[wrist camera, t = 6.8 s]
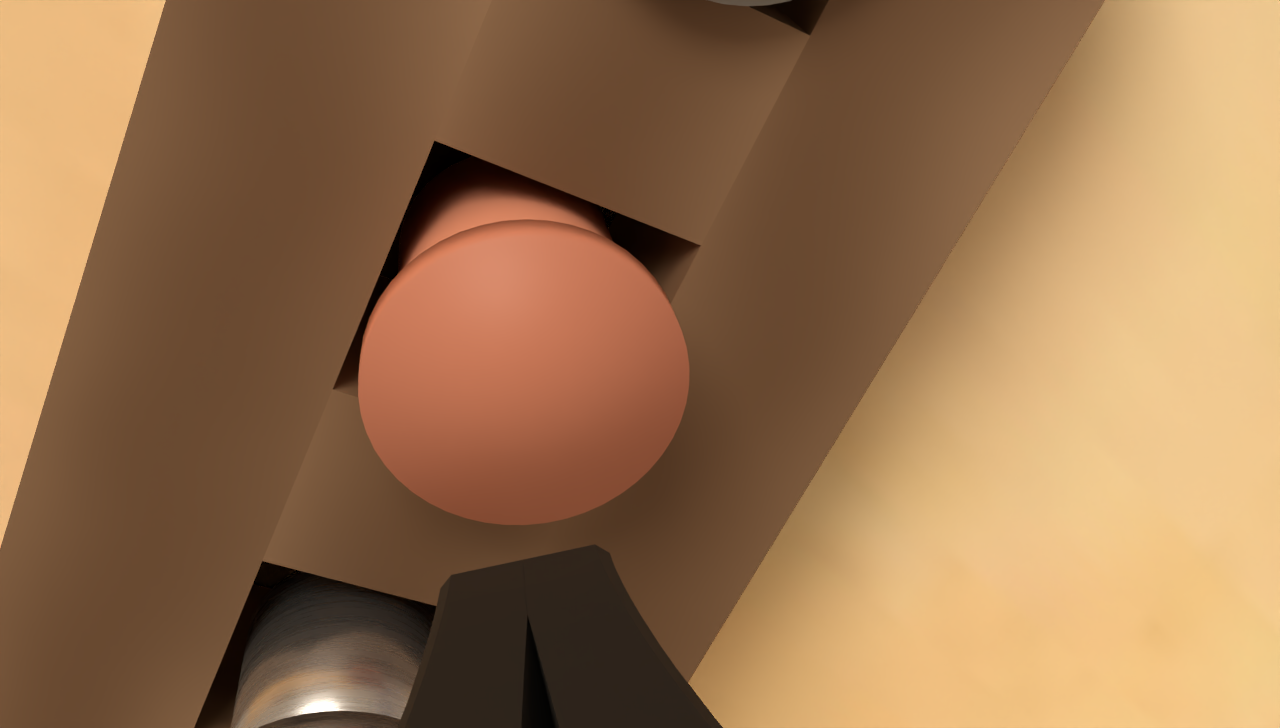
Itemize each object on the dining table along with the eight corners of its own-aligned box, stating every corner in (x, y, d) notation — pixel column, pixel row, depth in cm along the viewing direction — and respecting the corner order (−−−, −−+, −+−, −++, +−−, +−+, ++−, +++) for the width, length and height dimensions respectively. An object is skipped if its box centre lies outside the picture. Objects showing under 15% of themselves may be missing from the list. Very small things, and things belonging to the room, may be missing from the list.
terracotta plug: (680, 184, 17) (745, 305, 14) (572, 400, 19) (607, 559, 15) (427, 79, 16) (431, 184, 13) (332, 320, 17) (311, 473, 14)
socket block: (1084, -255, 17) (1253, -243, 14) (547, 708, 24) (569, 876, 21) (410, -679, 14) (409, -805, 10) (16, 582, 21) (-63, 757, 17)
